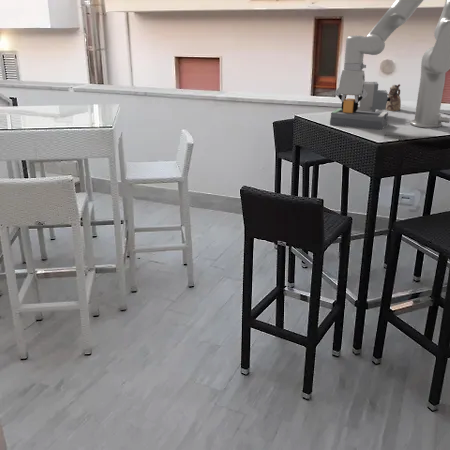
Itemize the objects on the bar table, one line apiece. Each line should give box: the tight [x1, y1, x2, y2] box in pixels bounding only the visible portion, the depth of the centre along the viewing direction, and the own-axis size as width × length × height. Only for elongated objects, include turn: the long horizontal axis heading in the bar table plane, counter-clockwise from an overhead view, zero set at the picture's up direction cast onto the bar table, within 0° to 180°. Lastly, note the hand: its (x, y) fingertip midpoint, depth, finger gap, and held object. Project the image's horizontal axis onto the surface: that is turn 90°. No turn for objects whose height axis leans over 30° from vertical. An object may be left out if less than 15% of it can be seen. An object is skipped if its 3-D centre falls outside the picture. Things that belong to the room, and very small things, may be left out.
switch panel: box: [329, 107, 389, 130], centre depth 211 cm, size 22×11×5 cm, turn 61°
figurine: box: [385, 83, 402, 112], centre depth 238 cm, size 7×7×12 cm
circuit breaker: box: [358, 81, 390, 112], centre depth 225 cm, size 8×14×15 cm, turn 78°
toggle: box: [343, 97, 355, 113], centre depth 212 cm, size 4×6×7 cm, turn 151°
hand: (349, 110), depth 212 cm, fingers closed on toggle, 4 cm apart
